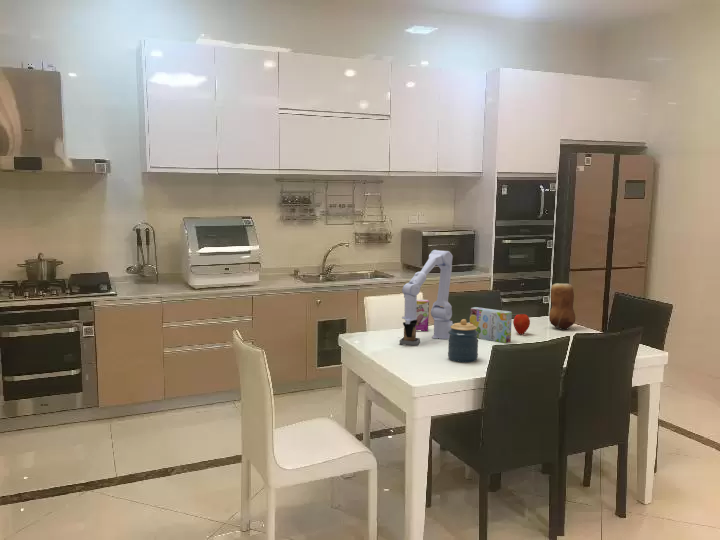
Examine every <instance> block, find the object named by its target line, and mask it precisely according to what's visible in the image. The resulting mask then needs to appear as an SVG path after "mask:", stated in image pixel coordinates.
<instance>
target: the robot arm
mask: <svg viewBox="0 0 720 540" xmlns="http://www.w3.org/2000/svg"><path fill="white" fill-rule="evenodd" d="M453 258H454V256H453V254H452V253H451V251H449V250H438V249H433V250H432V251H431V252H430V253H429V255H428V259H427V260H426V262H425V264H424V265H423V267H422V268H421V270H420V271H417V272H415V273H414V275H413V277H411V279H410V280H409V282H407V283H405V284H404V285H402V289H401V291H402V294H403V298H404V314H403V315H404V316H402V317H401V319H403V320H404V322H402V325H403V328H404V327H405V330H406V335H407V337H412V332H413V327H415V326H416V323H417V320H416V319H417V317H416V309H417V300H418V297H417V296H418V295H419V294H420V292H421V288H422V285H423V284H424V283H426V281H427V275H429V273H430V272H431V271H432V270H433V269H434V267H435V266H438V268H439V269H440V272H439V274H440V275H439V280H438V288H437V290H438V291H437V296H436V297H437V298H436V300H435V301H434V302H433V303H432V307H431V310H430V315H431V318H432V319H433V335H432V337H431V338H432V339H438V338H439V339H441V340H448V339H449V336H450V334H449V333H448V332H449V331H450V330H451V327H450V326H452V325H453V324H454V322H453V320H451V319H452V316H453V310H452V307H453V306H452V305H451V303H450V302H449V295H450V286H451V280H452V279H451V277H452V271H453ZM439 339H438V340H439Z"/></svg>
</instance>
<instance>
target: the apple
mask: <svg viewBox="0 0 720 540" xmlns="http://www.w3.org/2000/svg"><path fill="white" fill-rule="evenodd" d="M512 324H513V327H514V329H515V331H516V332H517V335H524V334H525V333H526V332H527V330H528V329H529V327H530V325H531V319H530V317H529V316H528V315H527V314H525V313H524V314H523V313H521V314H520V313H519V314H516V315H515V316H514V318H513V321H512Z"/></svg>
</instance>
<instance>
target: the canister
mask: <svg viewBox="0 0 720 540" xmlns="http://www.w3.org/2000/svg"><path fill="white" fill-rule="evenodd" d="M467 321H468V320H467V319H466V318H463V319H461V320H460V322H454V323H453V325H452V326H450V327H451V330H450V331H449V332H448V333H449V334H450V336H449V339H447V340H448V348H447V349H448V351H447V356H448V360H450V361H452V362H456V363H473V362H476V361H477V360H478V356H479V353H478V349H479V346H478V345H479V338H477V335H478V334H479V333H478V332H477V331H476V329H477V327H476V326H474V325H473V324H471V323H470V322H467Z"/></svg>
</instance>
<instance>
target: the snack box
mask: <svg viewBox="0 0 720 540" xmlns="http://www.w3.org/2000/svg"><path fill="white" fill-rule="evenodd" d="M512 319H513V312H512V311H508V310H500V309H492V308H487V307H486V308H484V307H477V306H474V307H471V308H469V323H471V324H473V325H474V326H476V327H477V329H476V331H477V332H478V333H479V334H478V335H477V339H479V340H485V339H486V341H491V342H498V343H504V344H506V343H507V344H508V343H510V342H511V339H512V324H513V321H512Z"/></svg>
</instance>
